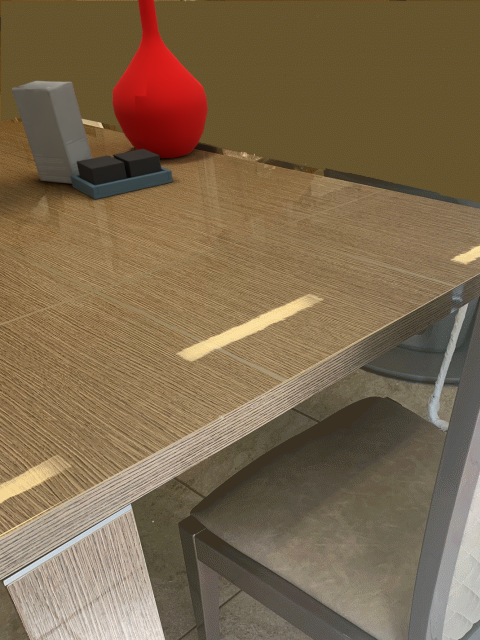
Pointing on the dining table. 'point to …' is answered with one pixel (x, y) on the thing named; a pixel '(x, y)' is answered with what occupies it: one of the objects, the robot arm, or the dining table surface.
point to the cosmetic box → (53, 128)
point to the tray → (122, 184)
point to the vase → (159, 96)
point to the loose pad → (101, 170)
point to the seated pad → (139, 162)
